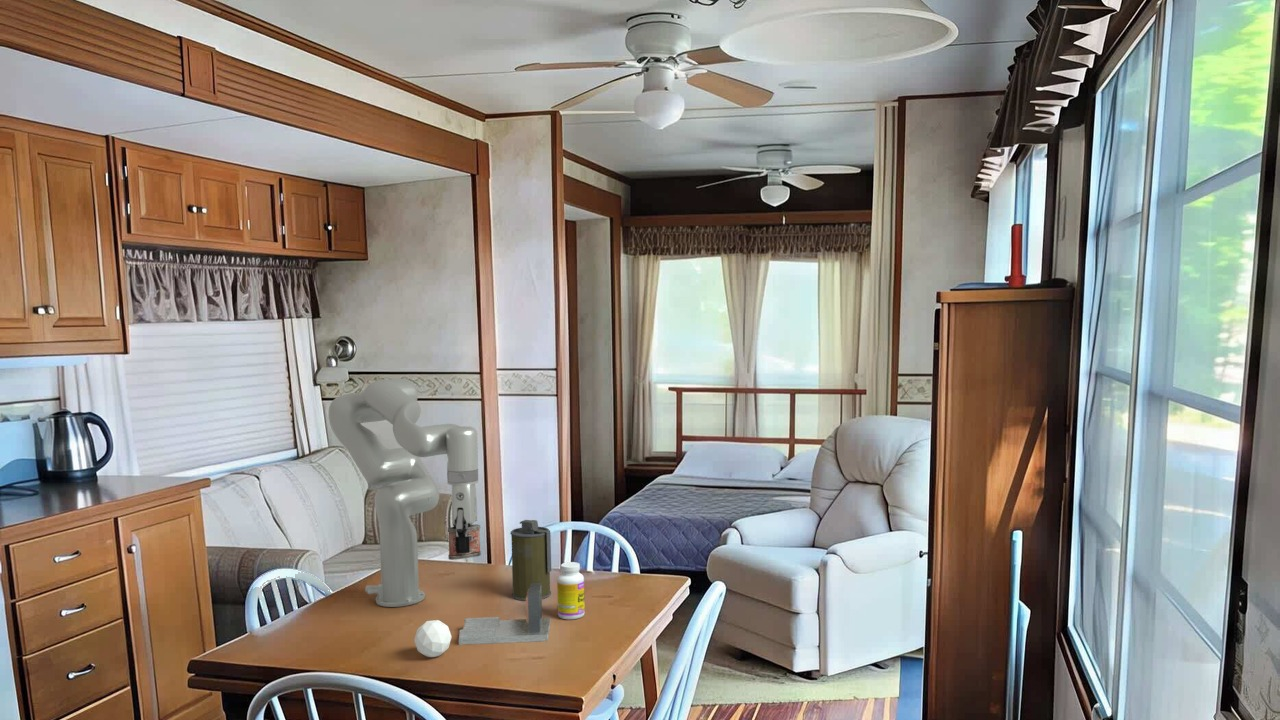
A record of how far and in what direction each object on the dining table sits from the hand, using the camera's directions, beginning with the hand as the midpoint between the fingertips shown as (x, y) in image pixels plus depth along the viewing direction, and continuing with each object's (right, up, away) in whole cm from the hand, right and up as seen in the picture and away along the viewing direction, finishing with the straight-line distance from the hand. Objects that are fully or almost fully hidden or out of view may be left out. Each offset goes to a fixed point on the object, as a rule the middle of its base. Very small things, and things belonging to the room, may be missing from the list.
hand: (464, 549), depth 206 cm
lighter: (0, -2, 0) cm, 2 cm away
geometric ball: (-2, -18, -24) cm, 30 cm away
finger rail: (+12, -17, -12) cm, 24 cm away
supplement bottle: (+27, -17, 0) cm, 31 cm away
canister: (+15, -16, +17) cm, 28 cm away
